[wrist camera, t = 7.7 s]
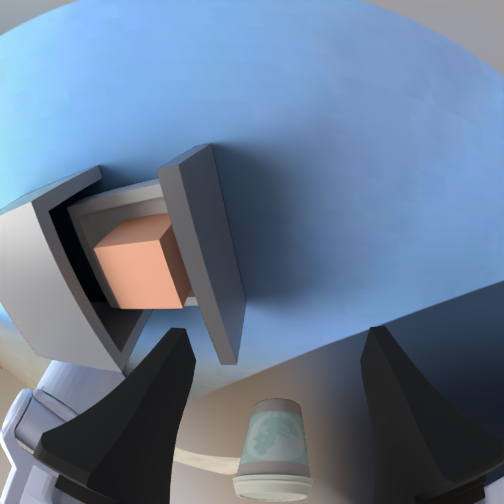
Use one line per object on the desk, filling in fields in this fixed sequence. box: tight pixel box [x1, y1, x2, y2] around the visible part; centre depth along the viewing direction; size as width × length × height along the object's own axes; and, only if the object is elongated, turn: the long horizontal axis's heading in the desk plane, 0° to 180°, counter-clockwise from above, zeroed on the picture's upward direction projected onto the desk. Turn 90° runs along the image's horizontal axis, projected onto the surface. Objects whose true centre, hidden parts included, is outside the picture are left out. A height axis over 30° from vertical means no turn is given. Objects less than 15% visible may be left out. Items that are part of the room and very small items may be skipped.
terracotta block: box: [94, 213, 192, 309], centre depth 17 cm, size 4×4×4 cm
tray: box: [67, 143, 246, 365], centre depth 17 cm, size 12×11×6 cm
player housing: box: [0, 165, 153, 372], centre depth 18 cm, size 13×11×7 cm
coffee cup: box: [233, 398, 314, 502], centre depth 25 cm, size 8×8×12 cm
